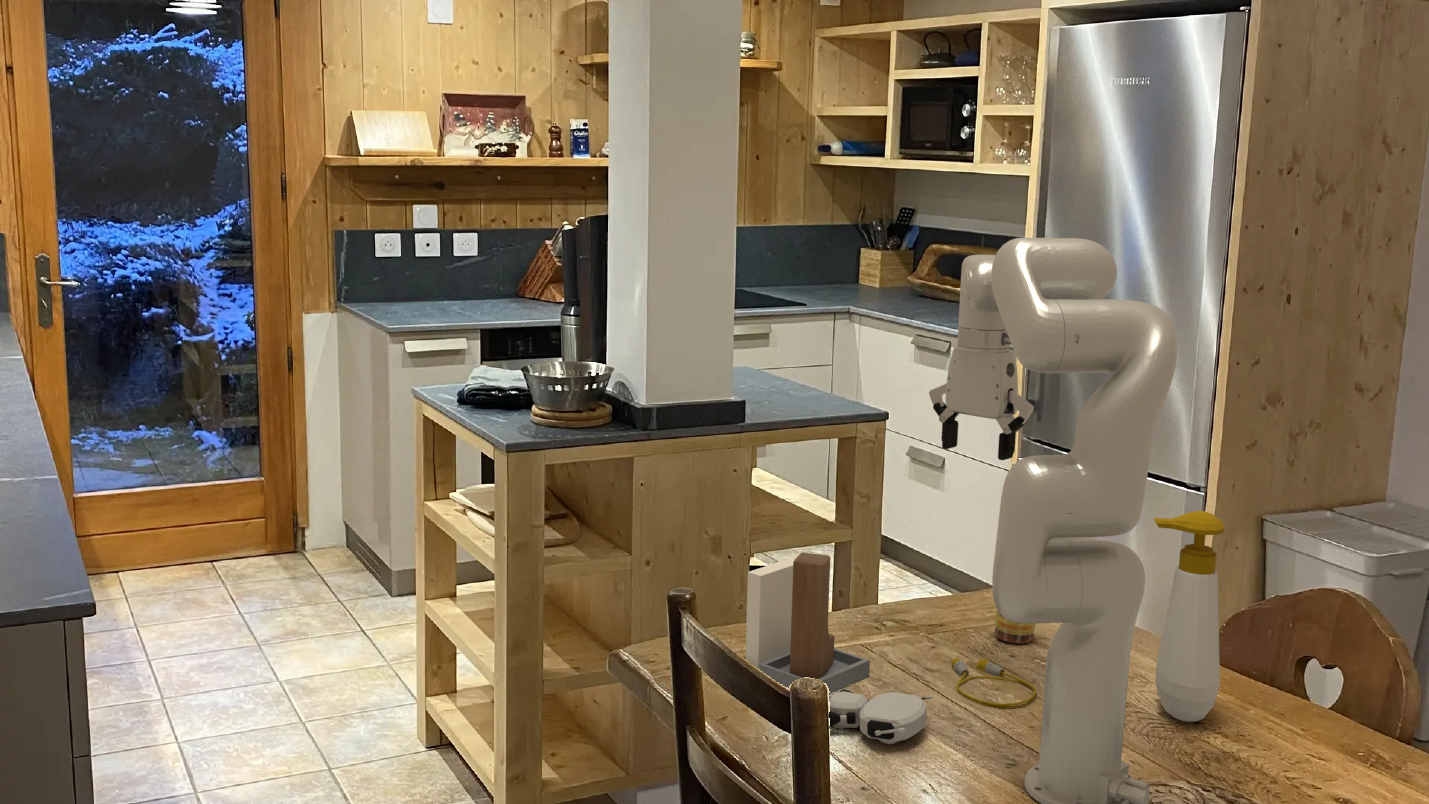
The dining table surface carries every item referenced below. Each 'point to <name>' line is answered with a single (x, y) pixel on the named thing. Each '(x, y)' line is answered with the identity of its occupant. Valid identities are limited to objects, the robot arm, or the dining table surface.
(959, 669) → the extension cord
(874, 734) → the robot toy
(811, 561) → the wooden block
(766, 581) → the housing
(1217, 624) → the soap bottle
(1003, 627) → the sauce bottle
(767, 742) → the dining table surface
